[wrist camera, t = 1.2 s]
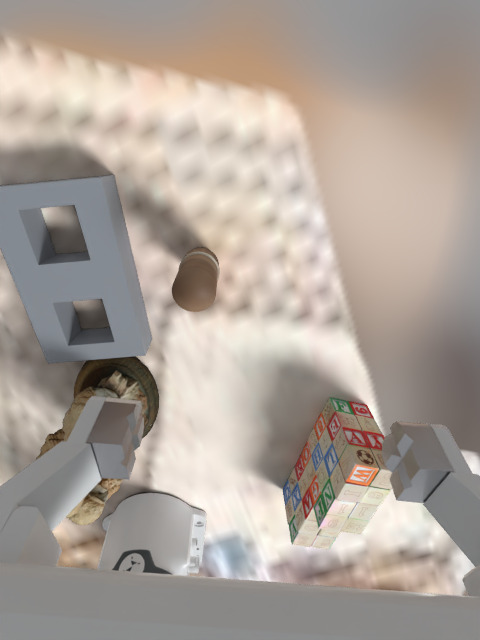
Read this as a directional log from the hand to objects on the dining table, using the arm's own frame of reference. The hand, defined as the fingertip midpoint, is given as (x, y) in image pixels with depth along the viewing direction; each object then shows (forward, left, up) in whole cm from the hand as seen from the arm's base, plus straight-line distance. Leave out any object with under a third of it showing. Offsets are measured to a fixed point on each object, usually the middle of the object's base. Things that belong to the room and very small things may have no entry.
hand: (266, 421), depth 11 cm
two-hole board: (-3, +19, -30) cm, 36 cm away
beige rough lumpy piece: (-23, +20, -31) cm, 43 cm away
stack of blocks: (-37, -10, -31) cm, 49 cm away
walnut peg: (-3, +5, -31) cm, 31 cm away
